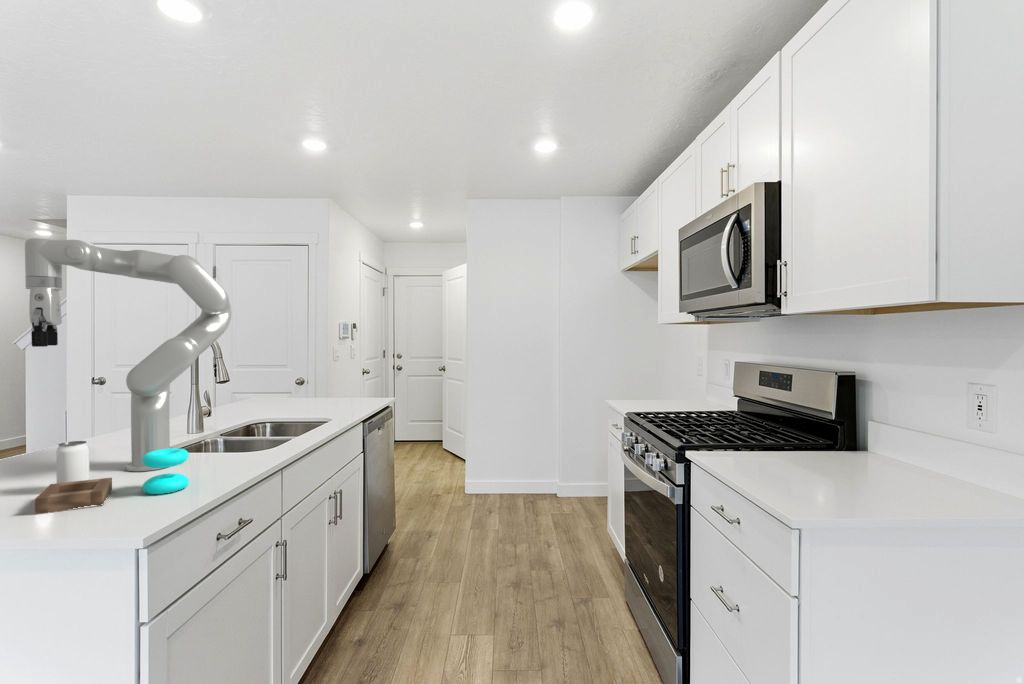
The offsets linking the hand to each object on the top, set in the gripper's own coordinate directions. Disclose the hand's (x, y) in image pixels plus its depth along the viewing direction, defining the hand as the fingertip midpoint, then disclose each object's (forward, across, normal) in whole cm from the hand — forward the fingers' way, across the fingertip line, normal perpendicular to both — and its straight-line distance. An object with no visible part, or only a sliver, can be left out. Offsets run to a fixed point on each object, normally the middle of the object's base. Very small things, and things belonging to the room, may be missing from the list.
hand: (45, 345), depth 144 cm
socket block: (+37, -30, -12) cm, 49 cm away
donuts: (+37, -29, -30) cm, 56 cm away
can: (+37, -17, -9) cm, 42 cm away
